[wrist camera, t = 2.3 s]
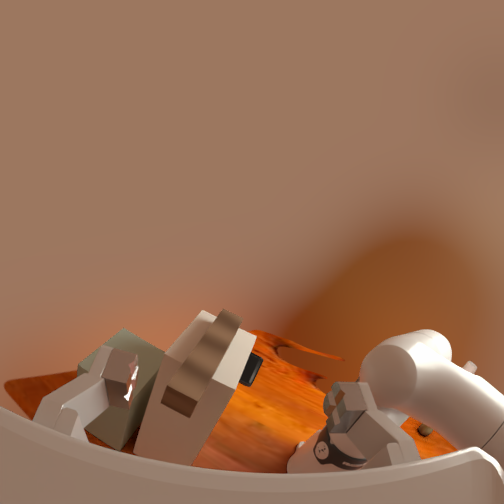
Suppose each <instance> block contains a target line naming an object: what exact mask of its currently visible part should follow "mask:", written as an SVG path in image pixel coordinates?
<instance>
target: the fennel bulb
mask: <svg viewBox="0 0 504 504" xmlns="http://www.w3.org/2000/svg"><path fill="white" fill-rule="evenodd" d="M418 430H419V432H420V434H422V435H425V436H427V435H429V434H430V433H431V432H432V431H433V429H432V428H430V427H428V426H427V425H425V424H423V423H422V424H421V426H419V428H418Z"/></svg>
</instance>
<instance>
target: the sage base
mask: <svg viewBox="0 0 504 504" xmlns="http://www.w3.org/2000/svg"><path fill="white" fill-rule="evenodd" d="M103 345H105V346H109V347H112V348H116V349H120V350H124V351H127V352H131V353H135V354H138V363H137V366H138V369H139V372H138V380H137V385H136V388H135V389H134V390H133V399H132V402H131V406H130V409H129V410H127V409H123V408H118V407H114V406H110V405H109V407H108V408H107V409H106V410H105V411H103V412H102V413H101V414H100V415H99V416H97V417H96V418H95V419H94V420H93V421H91V422H90V423H89V424H88V425H87V426H85V427H84V429H85V430H87V431H88V432H89V433H91V434H92V435H94V436H95V437H97V438H98V439H100V440H101V441H103V442H104V443H106V444H107V445H109V446H111V447H112V448H114V449H115V450H117V451H119V452H120V451H121V449H122V448H123V447H124V445H125V444H126V443H127V441H128V440H129V439H130V437H131V436H132V434H133V433H134V432H135V430H136V429H137V428H138V426H139V425H140V424H141V422H142V420H143V417H144V414H145V411H146V408H147V405H148V401H149V398H150V395H151V392H152V389H153V386H154V383H155V380H156V377H157V374H158V371H159V368H160V365H161V362H162V359H163V356H164V353H165V352H164V351H162V350H160V349H158V348H156V347H155V346H153V345H151V344H150V343H148V342H146V341H144V340H143V339H141V338H139V337H138V336H136V335H134V334H133V333H131V332H129V331H127V330H126V329H124V328H123V329H122V330H121V331H119V332H118V333H117V334H116V335H114V336H113V337H112V338H110V339H109V340H108V341H107V342H105V343H104V344H103ZM100 347H101V346H100ZM100 347H99V348H100ZM99 348H98V349H97V350H95V351H94V352H93V353H92V354H90V355H89V356H88V357H87V358H85V359H84V360H83V361H82V362H80V363H79V364H78V370H77V377H79V376H80V375H82V374H84V373H89V370H90V368H91V366H92V364H93V361H94V359H95V357H96V355H97V353H98V350H99Z"/></svg>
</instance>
